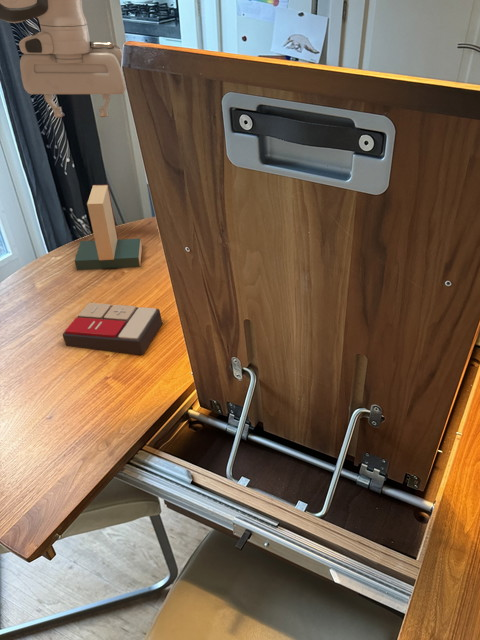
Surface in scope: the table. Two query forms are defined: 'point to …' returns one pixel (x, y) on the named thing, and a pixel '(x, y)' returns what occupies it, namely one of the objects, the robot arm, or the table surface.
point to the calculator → (114, 328)
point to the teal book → (124, 258)
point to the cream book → (103, 221)
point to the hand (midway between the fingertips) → (81, 116)
